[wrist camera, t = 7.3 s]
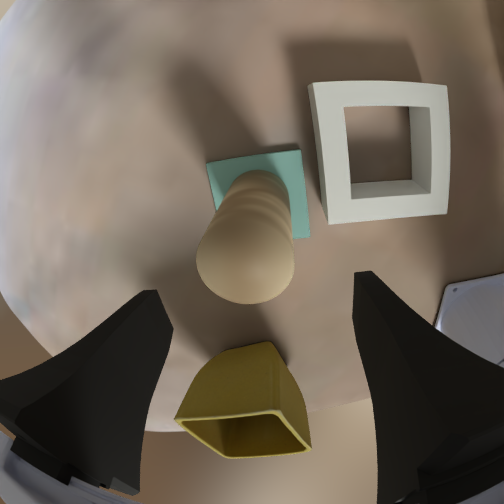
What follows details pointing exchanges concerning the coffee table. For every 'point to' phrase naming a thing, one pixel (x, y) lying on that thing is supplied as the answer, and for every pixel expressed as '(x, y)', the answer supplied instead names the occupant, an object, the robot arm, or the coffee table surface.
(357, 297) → the robot arm
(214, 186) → the pad
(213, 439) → the flower pot
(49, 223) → the coffee table surface
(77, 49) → the coffee table surface
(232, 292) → the dowel
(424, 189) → the socket block
